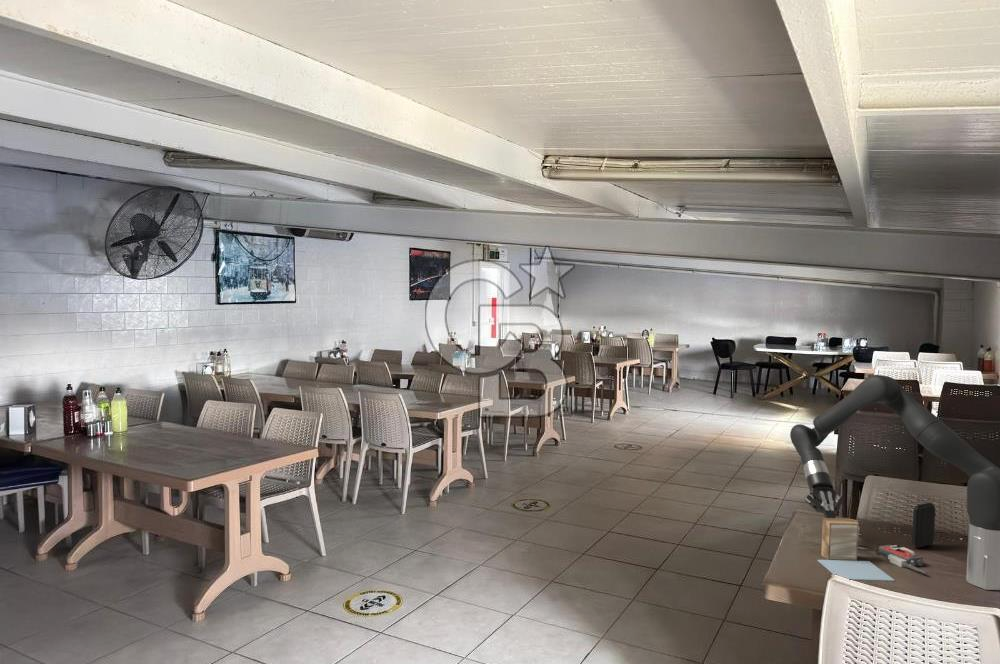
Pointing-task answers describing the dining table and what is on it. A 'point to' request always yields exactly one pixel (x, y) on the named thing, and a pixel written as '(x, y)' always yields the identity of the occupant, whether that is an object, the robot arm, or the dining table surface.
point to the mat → (856, 570)
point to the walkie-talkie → (901, 557)
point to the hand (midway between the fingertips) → (832, 523)
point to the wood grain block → (839, 539)
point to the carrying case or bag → (923, 525)
